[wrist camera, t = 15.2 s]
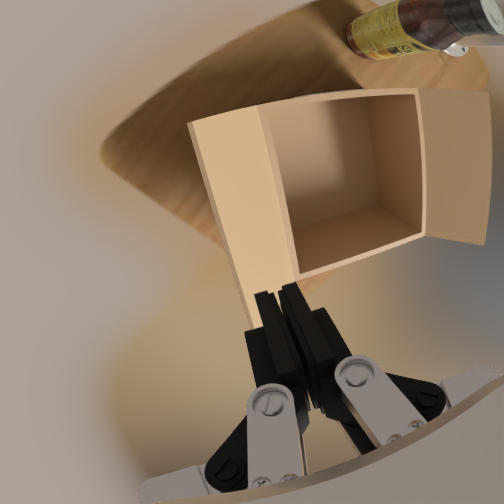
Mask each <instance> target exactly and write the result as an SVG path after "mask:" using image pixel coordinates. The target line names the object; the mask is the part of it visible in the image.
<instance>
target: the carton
mask: <svg viewBox="0 0 504 504" xmlns="http://www.w3.org/2000/svg"><path fill="white" fill-rule="evenodd" d="M257 108H258V112H259V116H260V121H261V125H262V129H263V133H264V137H265V142H266V146H267V150H268V155H269V159H270V163H271V168H272V172H273V177H274V181H275V186H276V191H277V195H278V200H279V205H280V209H281V214H282V219H283V224H284V229H285V234H286V239H287V244H288V249H289V254H290V259H291V265H292V270H293V275H294V281H298V280H301V279H304V278H307V277H310V276H313V275H316V274H319V273H322V272H325V271H328V270H331V269H334V268H337V267H340V266H343V265H345V264H348V263H351V262H354V261H357V260H360V259H363V258H365V257H368V256H371V255H374V254H377V253H379V252H382V251H385V250H388V249H390V248H393V247H396V246H399V245H401V244H404V243H407V242H409V241H412V240H414V239H417V238H420V237H423V236H425V230H426V158H425V143H424V131H423V122H422V113H421V105H420V99H419V92H418V88H391V89H370V90H366V89H356V90H345V91H335V92H326V93H318V94H311V95H304V96H298V97H293V98H292V99H286V100H280V101H275V102H270V103H265V104H260V105H257Z"/></svg>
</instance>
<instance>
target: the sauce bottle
mask: <svg viewBox="0 0 504 504" xmlns="http://www.w3.org/2000/svg"><path fill="white" fill-rule="evenodd" d="M474 34H488V35H491V36H495V35H503V34H504V19H503V16H502V13H501V11H500V9H499V7H498V5H497V4H496V2H495V1H494V0H397V1H394V2H392V3H389V4H387V5H385V6H382V7H379V8H377V9H374V10H372V11H370V12H367V13H365V14H363V15H361V16H359V17H357V18H356V19H354V20H353V21H352V22H350V24H349V25H348V27H347V30H346V37H347V40H348V43H349V44H350V47H351V48H352V49H353V51H354V52H355V53H357V54H358V55H359V56H361V57H363V58H366V59H372V60H375V59H377V60H381V59H387V58H392V57H398V56H406V55H410V54H418V53H424V52H433V51H441V50H445V49H447V48H448V47H450V46H451V45H453V44H454V43H455V42H457V41H459V40H460V39H462V38H463V37H465V36H470V35H474Z"/></svg>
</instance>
